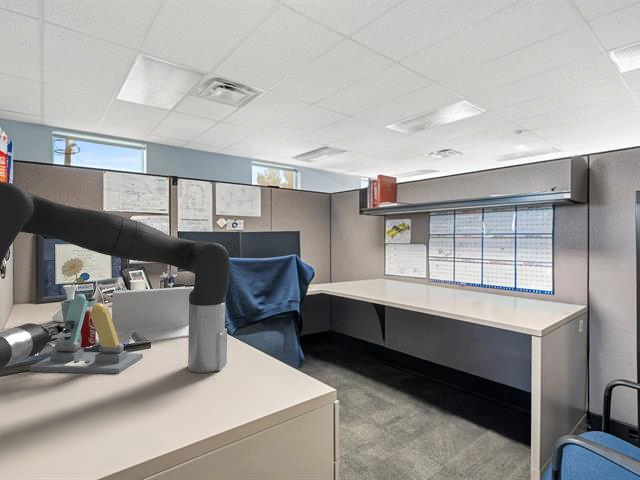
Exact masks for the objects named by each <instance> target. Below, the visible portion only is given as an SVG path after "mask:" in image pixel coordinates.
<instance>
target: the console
mask: <svg viewBox="0 0 640 480" xmlns="http://www.w3.org/2000/svg"><path fill="white" fill-rule="evenodd" d="M142 359H143V353H135V352H134V353H133V352H130V353H128V350H123V351H122V352H121V353H106V352H100V351H99V352H97V351H95V352H94V351H85V349H79V350H78V351H77V352H70V351H55V350H54V351H53V352H50V354H49V357H47V358H44V359H43V360H40V361H38V362H36V363H34V364H31V365H29V372H32V371H33V372H57V373H59V372H60V373H61V372H62V373H91V374H92V373H94V374H95V373H97V374H121V373H122V372H124V371H125V370H127V369H128V368H130V367H131V366H133V365H134V364H136V363H137V362H139V361H141V360H142Z"/></svg>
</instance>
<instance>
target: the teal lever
mask: <svg viewBox="0 0 640 480" xmlns="http://www.w3.org/2000/svg"><path fill="white" fill-rule="evenodd" d="M86 298H87V297H86V295H85V294H84V293H78V294H76V295H74V299H75V300H71V302H70V305H69V309H68V313H67V316H66V320H65V321H67V320H70V321H74V328H73V329H71V339H69V340H65V339H62V337H60V339H59V341H57V342H56V343H55V345H54V352H55V351H70V352H77V351H78V350H79V348H80V343H79V342H78V339H79V335H80V331H81V328H82V324H83V320H84V316H85V312H86V308H87V304H88V301H87V300H86Z"/></svg>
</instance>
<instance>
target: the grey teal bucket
mask: <svg viewBox="0 0 640 480" xmlns="http://www.w3.org/2000/svg"><path fill="white" fill-rule="evenodd" d="M71 300H75V298H74V299H70V300H67V299H65V300H62V301H61V302H60V307H61V309H62V316H63V322H65V320H66V316H67V313H68V309H69V305H70V302H71ZM86 300H87V301H88V304H87V307H93V306H94V305H95V304H97V303H98V299H97V298H96V297H86Z"/></svg>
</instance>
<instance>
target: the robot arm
mask: <svg viewBox="0 0 640 480" xmlns="http://www.w3.org/2000/svg"><path fill="white" fill-rule="evenodd" d="M20 233H26V234H30V235H31V234H32V235H38V236H43V237H44V236H45V237H48V238H53V239H57V240H60V241H62V242H66V243H68V244H71V245H74V246H76V247H80V248H82V249H84V250H89V251H92V252H95V253H97V254H102V255H104V256H105V255H106V256H110V257H113V258H119V259H123V260H130V261H134V262H135V261H136V262H143V263H157V264H159V263H160V264H164V265H169V266H172V267H175V268H178V269H182V270H184V271H187V272H189V273H192V274H194V286H193V287H194V289H193V290H192V291H191V292H190V294H189V335H188V337H187V338H188V342H187V343H188V348H187V351H188V353H187V354H188V355H187V356H188V357H187V358H188V359H187V360H188V361H187V369H188V370H189V371H190V372H192V373H199V374H202V373H203V374H204V373H212V372H220V371H221V370H223V368H224V366H225V365H226V364H227V362H228V361H227V360H228V328H226V297H227V293H228V291H229V285H230V268H231V264H230V261H231V260H230V255H229V254H230V253H229V252H228V250H227V249H226V247H225V246H224V245H222V244H220V243H218V242H212V241H209V242H208V241H197V240H191V239H186V238H181V237H177V236H174V235H170V234H168V233H165V232H163V231H162V230H160V229H158V228H155V227H153V226H150V225H148V224H146V223H144V222H141V221H138V220H135V219H131V218H128V217H125V216H121V215H117V214H115V213H114V214H113V213H109V212H104V211H99V210H94V209H89V208H88V209H87V208H81V207H74V206H71V205H66V204H63V203H62V204H61V203H59V202H55V201H52V200H50V199H47V198H44V197H42V196H39V195H36V194H33V193H31V192H28V191H26V190H24V189H23V188H22V187H20V186H19V185H17V184H14V183H11V182H7V181H0V268H1V266H2V264H3V262H4V259H5V258H6V255H7V253H8V252H9V249H10V248H11V246H12V245H13V242H14V241H15V239H16V238H17V236H19V234H20ZM73 328H74V321H70V320H67V321H65V322H55V323H52V324H51V323H44V324H36V323H33V322H32V323H31V322H28V323H24V324H21V325H18V326H14V327H11V328H8V329H5V330H2V331H0V369H2V368H4V367H8V366H12V365H15V364H16V363H19V362H22V361H23V360H26V359H28V358H30V357H33V356H36V355H38V354H40V353H41V352H42V351H43V350H44V349H45V347H46V346H47V345H48V344H50V343H52V342H55V341H57V340H58V339H59V338H61V337H62V339H65V340H69V339H71V329H73Z"/></svg>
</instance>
